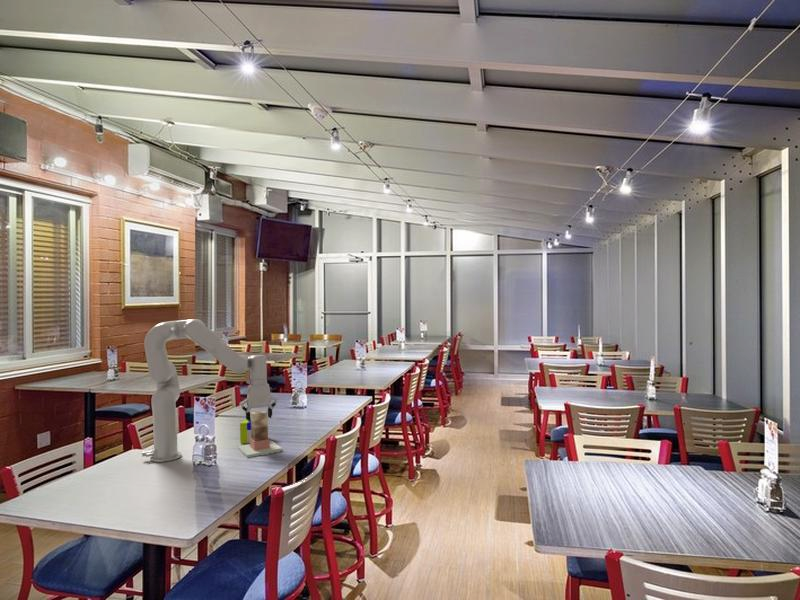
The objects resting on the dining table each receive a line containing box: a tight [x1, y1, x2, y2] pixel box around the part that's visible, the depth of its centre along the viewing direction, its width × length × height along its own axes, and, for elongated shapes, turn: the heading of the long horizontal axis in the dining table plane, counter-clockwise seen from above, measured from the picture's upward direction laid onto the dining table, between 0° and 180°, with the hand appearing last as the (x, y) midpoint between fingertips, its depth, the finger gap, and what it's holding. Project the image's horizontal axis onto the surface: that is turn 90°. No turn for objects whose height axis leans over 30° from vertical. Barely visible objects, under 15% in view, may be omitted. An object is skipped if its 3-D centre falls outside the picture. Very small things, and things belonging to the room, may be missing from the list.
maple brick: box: [250, 410, 269, 428], centre depth 234 cm, size 6×6×6 cm
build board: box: [237, 437, 283, 459], centre depth 234 cm, size 16×16×5 cm
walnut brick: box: [251, 426, 269, 441], centre depth 234 cm, size 6×6×6 cm
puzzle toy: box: [239, 417, 251, 443], centre depth 249 cm, size 10×10×10 cm
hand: (259, 419), depth 234 cm, fingers open, 9 cm apart
